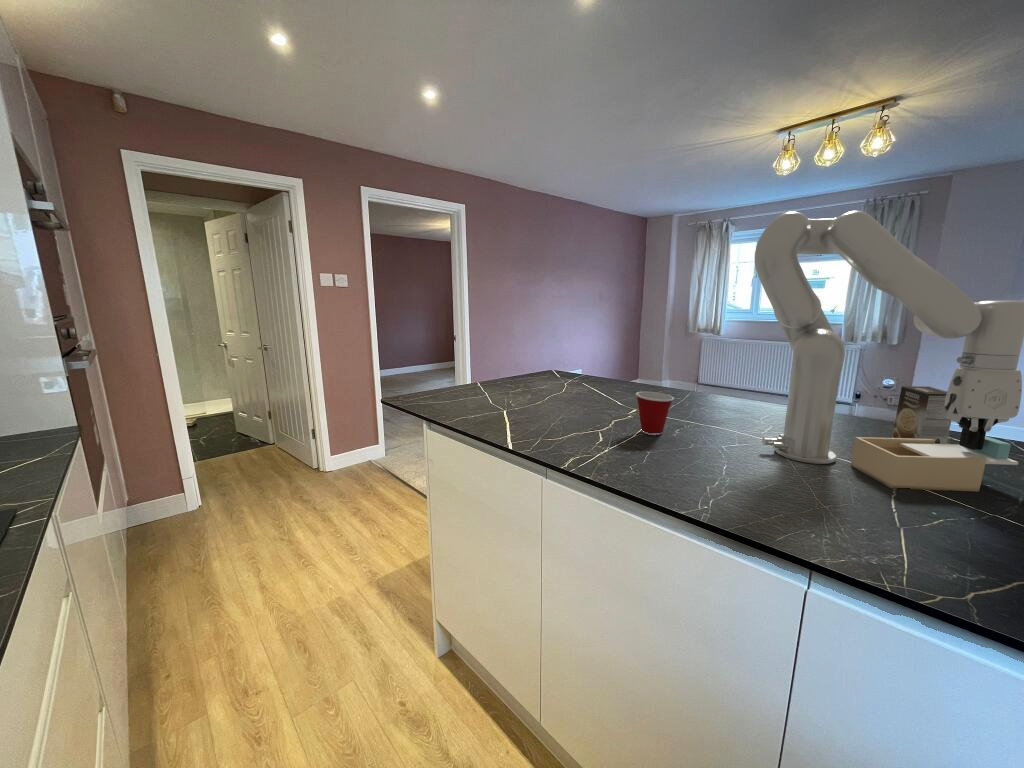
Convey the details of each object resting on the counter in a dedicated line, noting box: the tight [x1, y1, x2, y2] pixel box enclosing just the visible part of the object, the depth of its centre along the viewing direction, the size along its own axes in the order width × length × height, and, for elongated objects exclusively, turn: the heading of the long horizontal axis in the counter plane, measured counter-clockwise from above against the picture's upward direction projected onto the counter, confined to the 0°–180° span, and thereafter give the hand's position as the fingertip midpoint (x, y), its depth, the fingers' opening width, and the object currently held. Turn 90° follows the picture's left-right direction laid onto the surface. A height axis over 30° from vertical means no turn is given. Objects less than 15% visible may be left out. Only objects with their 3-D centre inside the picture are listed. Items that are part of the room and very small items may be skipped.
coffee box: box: [891, 385, 952, 444], centre depth 102 cm, size 9×6×16 cm
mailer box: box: [850, 436, 986, 492], centre depth 87 cm, size 16×12×7 cm
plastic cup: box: [635, 391, 675, 433], centre depth 119 cm, size 11×11×12 cm
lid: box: [899, 435, 1019, 466], centre depth 85 cm, size 14×10×4 cm
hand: (970, 447), depth 85 cm, fingers closed
